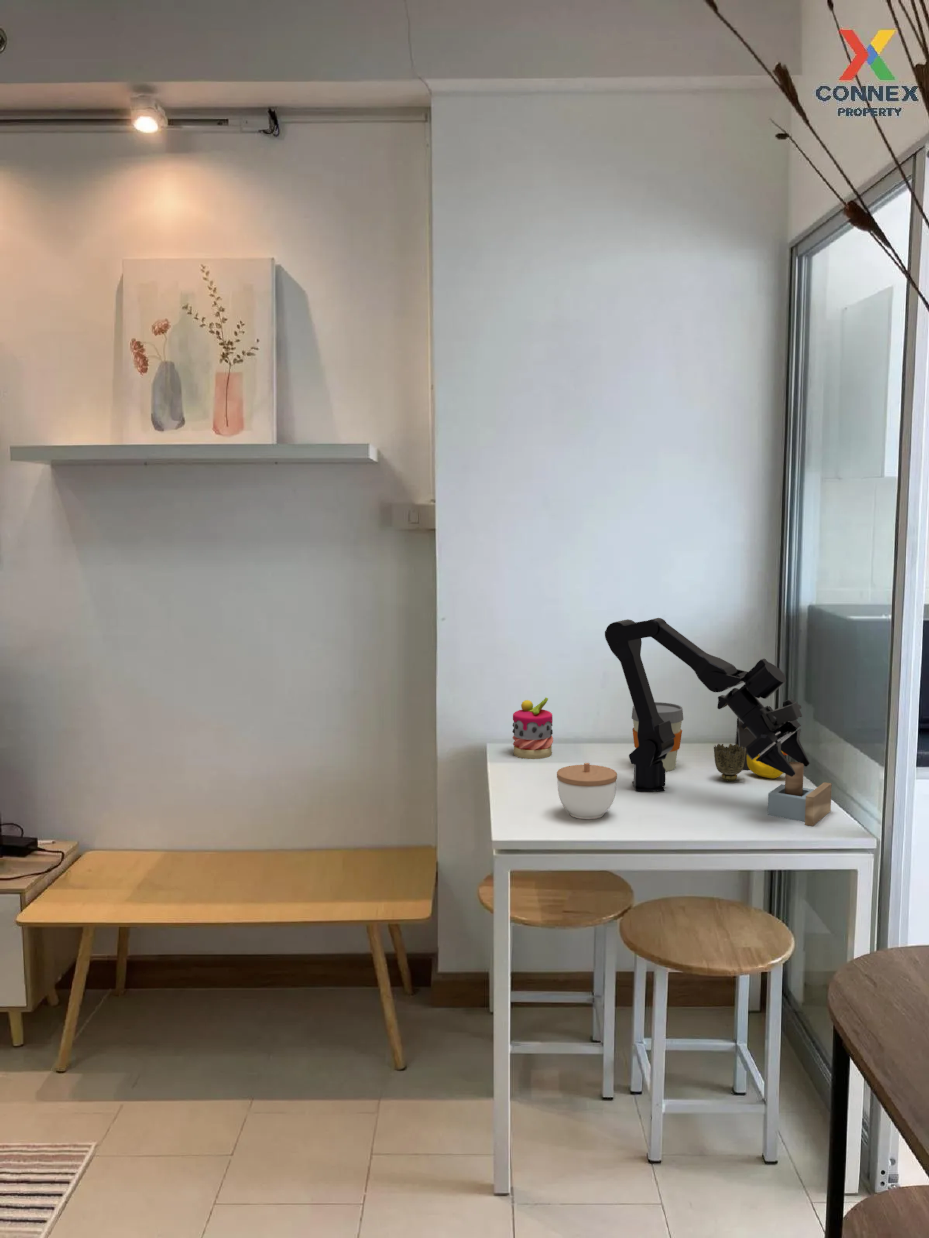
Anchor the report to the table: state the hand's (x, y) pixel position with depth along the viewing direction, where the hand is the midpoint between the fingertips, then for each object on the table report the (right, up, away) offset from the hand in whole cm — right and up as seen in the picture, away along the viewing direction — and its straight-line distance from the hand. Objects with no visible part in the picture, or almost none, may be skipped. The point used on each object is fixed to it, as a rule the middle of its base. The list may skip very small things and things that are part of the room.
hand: (801, 770), depth 215 cm
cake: (-53, -4, +53) cm, 75 cm away
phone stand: (0, -5, +40) cm, 40 cm away
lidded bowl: (-44, -10, +3) cm, 46 cm away
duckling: (+2, -6, +29) cm, 30 cm away
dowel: (-1, -9, +2) cm, 9 cm away
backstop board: (+3, -10, -1) cm, 10 cm away
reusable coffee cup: (-23, -5, +39) cm, 46 cm away
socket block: (-1, -10, +2) cm, 10 cm away
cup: (-8, -7, +27) cm, 29 cm away
